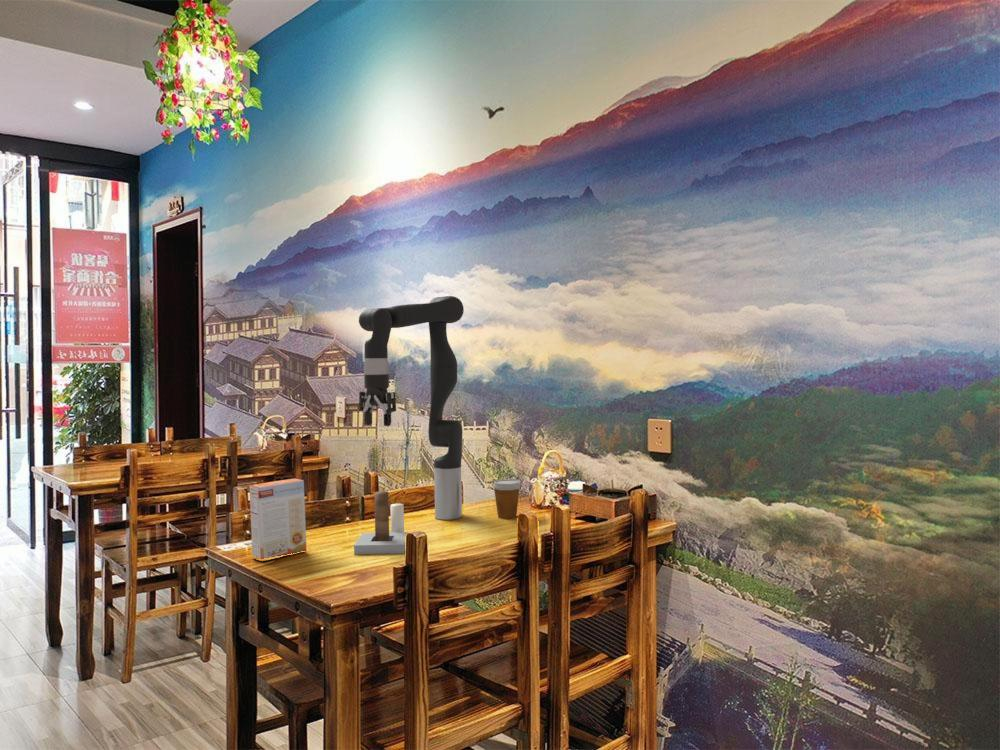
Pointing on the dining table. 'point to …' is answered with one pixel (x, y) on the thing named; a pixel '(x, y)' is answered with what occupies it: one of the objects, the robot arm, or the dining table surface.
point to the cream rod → (397, 518)
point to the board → (380, 544)
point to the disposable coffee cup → (506, 497)
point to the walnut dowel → (381, 516)
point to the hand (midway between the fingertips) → (377, 425)
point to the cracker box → (277, 518)
